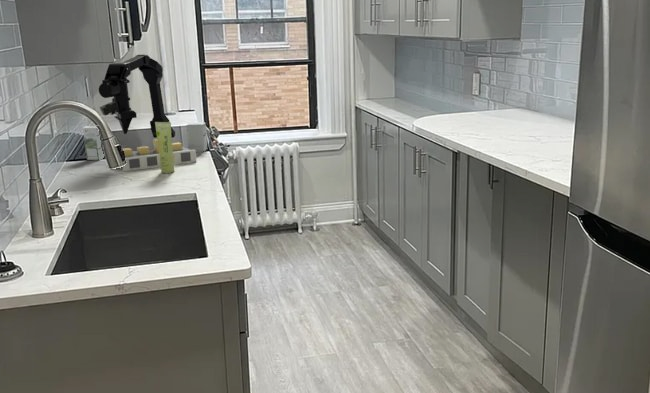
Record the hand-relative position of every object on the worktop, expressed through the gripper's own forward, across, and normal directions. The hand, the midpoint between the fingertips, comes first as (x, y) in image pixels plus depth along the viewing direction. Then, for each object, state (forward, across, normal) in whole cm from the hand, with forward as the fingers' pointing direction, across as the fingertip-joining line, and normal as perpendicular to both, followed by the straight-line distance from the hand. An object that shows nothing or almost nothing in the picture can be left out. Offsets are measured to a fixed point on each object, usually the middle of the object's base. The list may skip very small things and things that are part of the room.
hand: (125, 133), depth 250 cm
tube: (+13, +23, +9) cm, 28 cm away
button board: (+13, 0, +10) cm, 16 cm away
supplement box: (+13, -11, +34) cm, 38 cm away
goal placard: (+13, +11, +10) cm, 20 cm away
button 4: (+13, 0, 0) cm, 13 cm away
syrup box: (+13, -20, -9) cm, 25 cm away
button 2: (+10, 0, +14) cm, 17 cm away
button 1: (+13, 0, +21) cm, 24 cm away
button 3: (+13, 0, +7) cm, 14 cm away
